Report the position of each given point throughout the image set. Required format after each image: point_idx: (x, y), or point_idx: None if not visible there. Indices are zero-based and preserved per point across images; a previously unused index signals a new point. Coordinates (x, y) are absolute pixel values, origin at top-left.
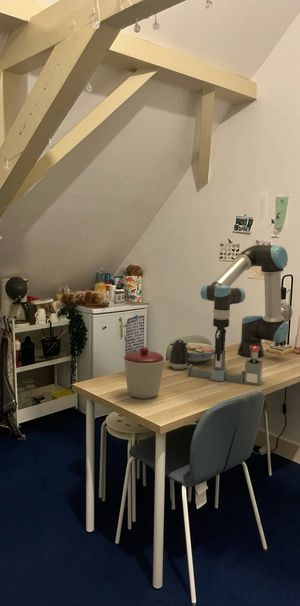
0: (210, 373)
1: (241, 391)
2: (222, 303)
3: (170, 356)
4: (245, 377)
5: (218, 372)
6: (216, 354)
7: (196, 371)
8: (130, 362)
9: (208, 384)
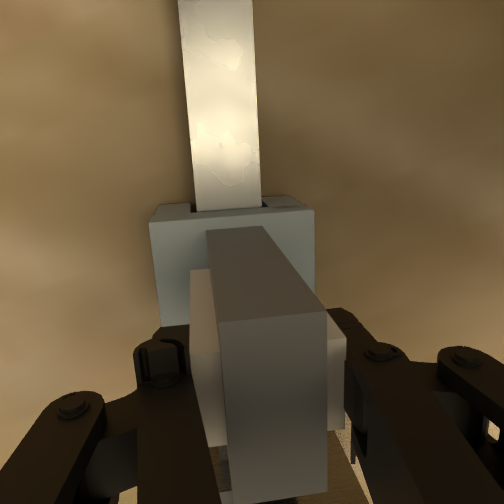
0: (195, 195)
1: None
2: None
3: None
4: None
5: (160, 300)
6: (191, 356)
7: (180, 25)
8: None
9: (33, 223)
